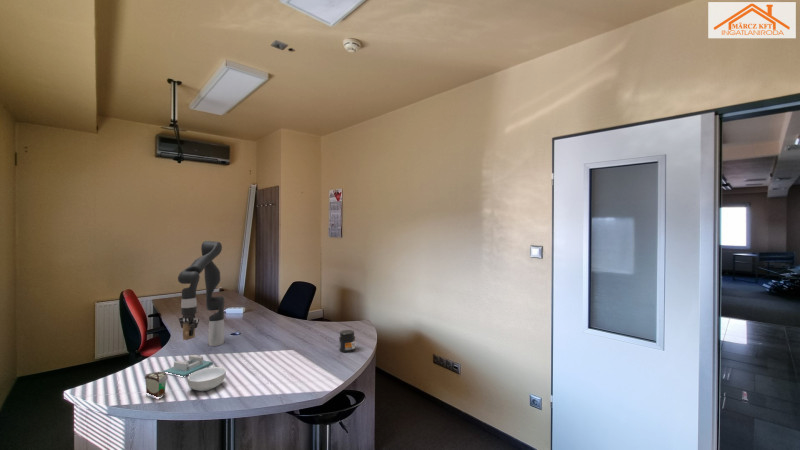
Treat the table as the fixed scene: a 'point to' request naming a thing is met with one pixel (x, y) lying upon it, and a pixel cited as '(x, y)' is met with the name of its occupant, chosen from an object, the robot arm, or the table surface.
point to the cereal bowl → (206, 378)
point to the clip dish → (205, 364)
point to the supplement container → (347, 341)
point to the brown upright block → (187, 331)
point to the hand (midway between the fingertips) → (189, 335)
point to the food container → (156, 383)
